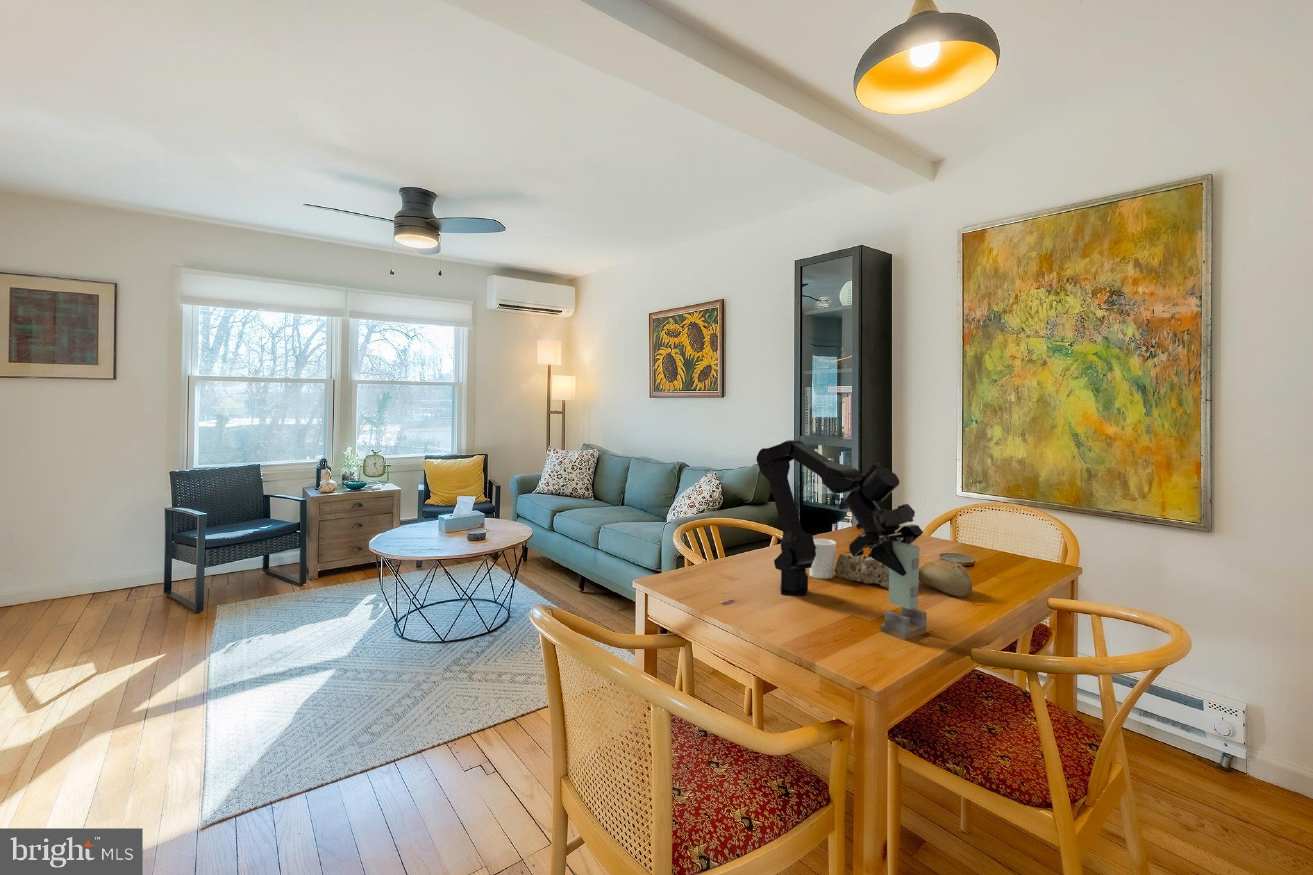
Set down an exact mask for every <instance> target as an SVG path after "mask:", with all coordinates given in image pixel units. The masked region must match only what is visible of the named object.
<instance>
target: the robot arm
mask: <svg viewBox="0 0 1313 875" xmlns="http://www.w3.org/2000/svg"><path fill="white" fill-rule="evenodd" d="M793 460H795V461H796V462H798V463H800V464H801V465H802V466H804V467H805V468H807V469H808V470H810V471H812V473H814V474H816V475H817V476H819V477H820V478H821V481H822V484H823V485H824V486H825V487H826V488H827V489H828V490H830V491H831V492H832V493H833V494H835V495H837V494H839V495H840V494H847V493H848V495H847V496H845V497H840V503H839V506H838V510H841V511H842V510H847V509H849V511H850V513H851V514H852V516H853V517H854V518H855V520H856V522H857V524H856V525H855V527H856V528H857V530H863V531H864V532H860V534H859V535H858V536H856V537H855V538H854V539H853V540H852V541H851V542H850V543H849V544H848V546H849V547H848V551H849V552H850V554H852V555H853V557H858V556H862V555H864V549H867V548H869V551H870V553H869V554H867V555H868V557H869V558H873V559H875V560H877V561H878V562H880V563H882V564H884V565H885V566H887V567H889V568H890V569H892V570H893V571H895V572H897V573H898V574H900V575H901V576H904V575H905V574H906V571H905V569H904V567H903V566H902V564H901V562H900V561H899V559H898V557H897V556H896V554H895V552H894V551H893V543H895V542H902V543H906V544H910V545H912V543H913V542H915V541H916V540H917V539H918V538H919V537H920V536H921V535H922V534H924V531H923V530H922V529H921V528H920V526H919V525H917V524H907V525H903V526H902V527H901V525H902V524H906V523H908V522H909V523H912V522H913V521H915V520H914V517H915V514H916V512H915V510H914V509H913V508H912V506H910V504H908V503H905V504H902V505H898V506H897V508H894V509H891V510H887V509H886V508H882V509H881V508H880V506H879V505H878V504H877V502H878V503H879V502H883V501H884V500H885V499H886V498H887V497H888V496H889V495H890V494H891V493H892V492H893V491H894V490H895V489H897V487H899V485H900V479H899V477H898V476H897V474H896V473H895V472H893V471H892V470H890V469H889V468H887V467H884V466H883V465H882V463H873V465H872V466H871V467H870V468H869V470H868V471H867V472H866V473H865V474H862V473H861V472H860V471H859V470H858V469H856V468H854V467H852V466H849V465H848V464H847V465H846V464H841V463H837V462H834V461H832V460H830V459H829V458H828V457H825V456H824V455H822V454H820V453H819V452H817V451H816V450H814V449H813V448H811V447H809V446H807V445H806V444H805V443H804V442H803V441H801V440H799V439H789V440H785V441H784V442H781V443H779V444H776V445H773V446H770V447H764V448H761V449H760V450H759V451H758V453H757V454H756V462H757V465H758V468H759V470H760V473H761V474H762V475H763V476H764V477H765V479H766V480H768V482H769V486H770V489H771V493H772V495H773V501H774V504H775V508H776V512H777V514H778V518H779V521H780V522H779V523H780V525H781V530H782V538H781V541H780V549H781V552H780V554H779V555H778V556H777V557H776V558H774V560H773V563H774V567H775V569H777V570H778V571H780V585H779V588H780V589H779V591H780V594H781V595H795V596H807V592H808V591H809V575H808V573H807V570H806V569H809V568H811V566H812V563H813V560H814V558H815V557H816V551H815V549H817V548H816V546H815V544H814V540H813V539H814V536H813V534H812V533H806V532H805V531H804V529H803V527H802V525H801V521H800V518H799V512H798V510H797V506H796V504H795V499H794V497H793V492H792V490H791V489H792V488H791V486H790V482H789V478H788V477H789V472H790V469H791V464H790V462H792V461H793ZM896 531H897V532H896Z"/></svg>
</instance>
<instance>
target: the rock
mask: <svg viewBox="0 0 1313 875" xmlns="http://www.w3.org/2000/svg"><path fill="white" fill-rule="evenodd" d="M868 555H869V554H863V555H862V556H858V557H853V555H852V554H851V553H850V554H849V553H847V554H846V553H845V554H843V553H840V554H839V555H838V558H837V560H836V562H835V566H834V576H836V577H837V576H838V578H843V579H847V580H848V581H856V582H858V583H859V582H860V583H864V584H878V585H880V586H881V587H883V588H886V589H888V590H889V567H887V566H885V565H884V564H882V563H880V562H878V561H877V560H875V559H873V558H869V557H868Z"/></svg>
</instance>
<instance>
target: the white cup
mask: <svg viewBox="0 0 1313 875" xmlns="http://www.w3.org/2000/svg"><path fill="white" fill-rule="evenodd" d="M813 540H814V544H815V546H816V548H817V549H815V551H816V557H815V558H814V560H813V563H812V566H811V568H808V574H809V576H810V577H812V578H814V579H820V580H821V579H822V580H825V579H826V580H828V579H832V578H833V577H834V576H835V566H836V562H835V561H836V550H837V542H836V540H835V541H834V540H832V539H828V538H827V539H826V538H813Z"/></svg>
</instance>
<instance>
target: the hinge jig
mask: <svg viewBox="0 0 1313 875" xmlns="http://www.w3.org/2000/svg"><path fill="white" fill-rule="evenodd" d="M927 614H928V613H927V612H926V611H924V610H920V609H918V608H916V607H915V608H912V609H906V608H904V607H901V613H896V612H895V611H891V610H887V611H885V612H884V622H883V623H879V632H881V633H885V634H887V635H890V636H893V637H895V638H898V639H901V640H903V641H907V640H909V639H912V638H915V637H917V636H920V635H923V634H926V633H927Z"/></svg>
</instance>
